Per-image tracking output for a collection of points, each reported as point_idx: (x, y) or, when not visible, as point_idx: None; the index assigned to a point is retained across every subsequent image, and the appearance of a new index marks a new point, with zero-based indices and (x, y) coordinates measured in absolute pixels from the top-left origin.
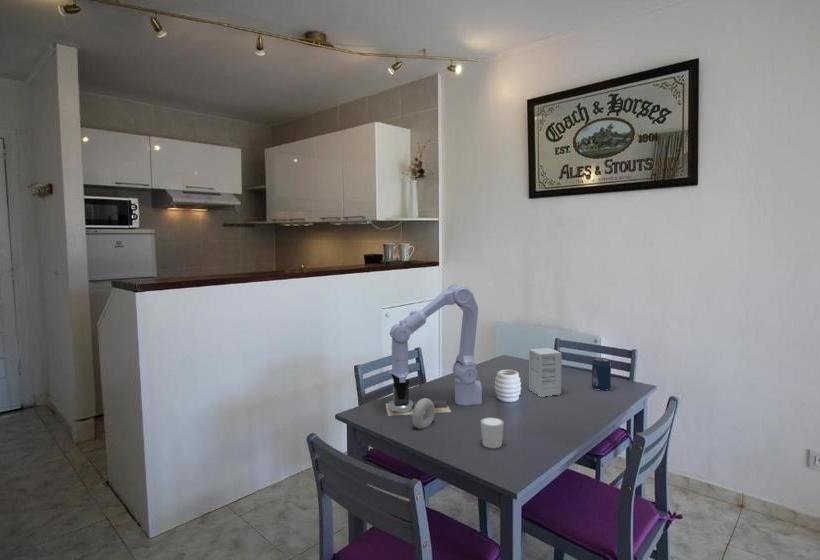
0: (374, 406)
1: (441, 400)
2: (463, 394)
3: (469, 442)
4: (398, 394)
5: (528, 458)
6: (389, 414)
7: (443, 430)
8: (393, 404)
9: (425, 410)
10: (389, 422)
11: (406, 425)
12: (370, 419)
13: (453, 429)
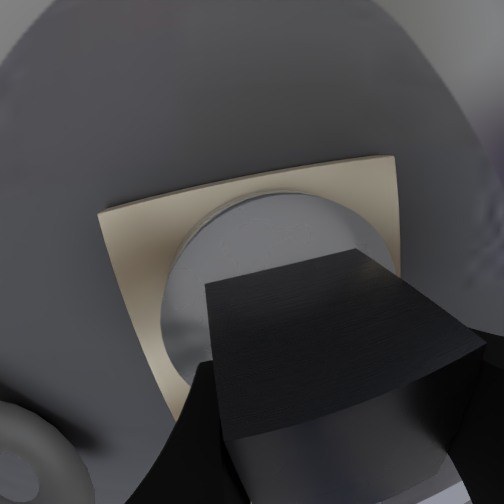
0: (381, 72)
1: None
2: None
3: (15, 498)
4: (188, 411)
5: None
6: (127, 222)
7: None
8: (249, 261)
9: (38, 494)
10: (51, 229)
11: (37, 345)
12: (98, 66)
13: None
